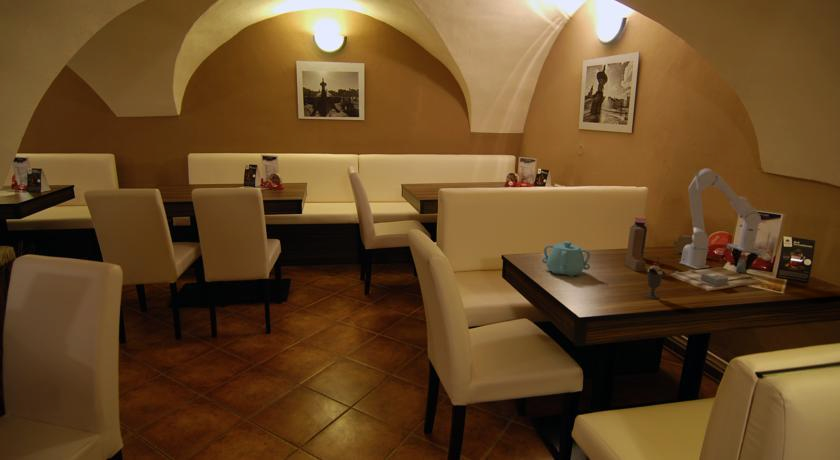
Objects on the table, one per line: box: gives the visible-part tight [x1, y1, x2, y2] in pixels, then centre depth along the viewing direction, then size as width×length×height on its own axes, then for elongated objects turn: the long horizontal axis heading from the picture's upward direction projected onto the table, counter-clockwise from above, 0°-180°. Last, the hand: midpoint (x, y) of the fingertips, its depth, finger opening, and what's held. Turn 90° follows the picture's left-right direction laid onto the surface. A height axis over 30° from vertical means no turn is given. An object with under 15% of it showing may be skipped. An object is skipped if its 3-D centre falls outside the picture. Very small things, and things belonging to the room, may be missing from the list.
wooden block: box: [624, 226, 647, 272], centre depth 213 cm, size 9×4×18 cm, turn 5°
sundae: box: [644, 257, 666, 300], centre depth 180 cm, size 7×7×15 cm
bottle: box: [631, 215, 648, 259], centre depth 228 cm, size 7×7×20 cm
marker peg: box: [735, 256, 748, 274], centre depth 212 cm, size 4×4×6 cm
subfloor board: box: [670, 266, 761, 292], centre depth 203 cm, size 18×30×2 cm, turn 111°
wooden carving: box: [671, 234, 710, 254], centre depth 236 cm, size 16×5×10 cm, turn 56°
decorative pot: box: [541, 240, 591, 278], centre depth 206 cm, size 16×16×14 cm
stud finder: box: [701, 273, 728, 287], centre depth 195 cm, size 7×6×4 cm
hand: (741, 267), depth 212 cm, fingers closed on marker peg, 4 cm apart
